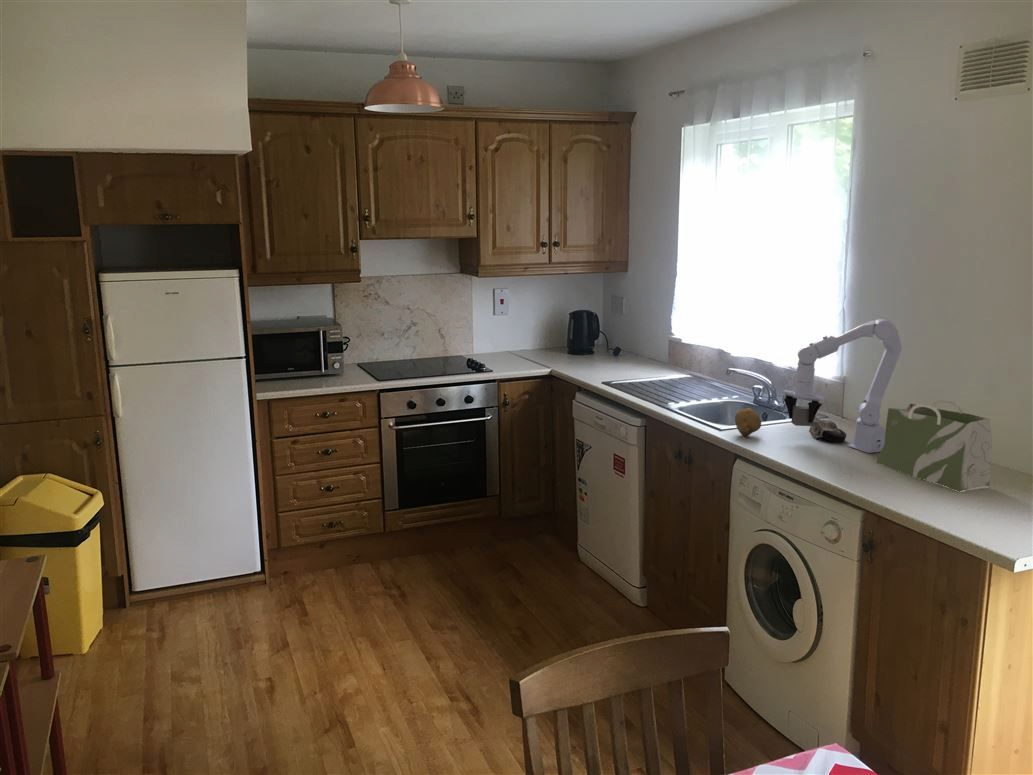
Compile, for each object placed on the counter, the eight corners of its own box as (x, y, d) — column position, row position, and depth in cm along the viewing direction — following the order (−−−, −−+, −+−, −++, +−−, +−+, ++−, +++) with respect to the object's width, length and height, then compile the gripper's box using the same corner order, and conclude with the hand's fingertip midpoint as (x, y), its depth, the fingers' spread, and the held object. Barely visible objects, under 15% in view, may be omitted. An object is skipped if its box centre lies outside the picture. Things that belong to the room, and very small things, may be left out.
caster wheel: (845, 450, 301) (819, 445, 300) (833, 435, 311) (807, 431, 310) (852, 433, 299) (825, 428, 297) (839, 418, 309) (813, 414, 308)
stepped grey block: (817, 426, 296) (819, 409, 295) (795, 425, 296) (797, 408, 295) (812, 422, 301) (814, 406, 300) (791, 422, 301) (792, 405, 300)
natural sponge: (757, 433, 310) (760, 406, 308) (762, 439, 302) (764, 411, 300) (731, 432, 311) (734, 405, 309) (735, 438, 303) (737, 410, 301)
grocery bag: (872, 462, 277) (880, 392, 272) (904, 459, 283) (913, 389, 278) (958, 493, 248) (968, 414, 244) (992, 488, 254) (1002, 411, 249)
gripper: (830, 383, 293) (826, 422, 296) (791, 376, 303) (788, 414, 306) (820, 385, 288) (816, 425, 291) (780, 379, 299) (777, 417, 301)
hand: (801, 420), depth 298 cm, fingers closed on stepped grey block, 7 cm apart
